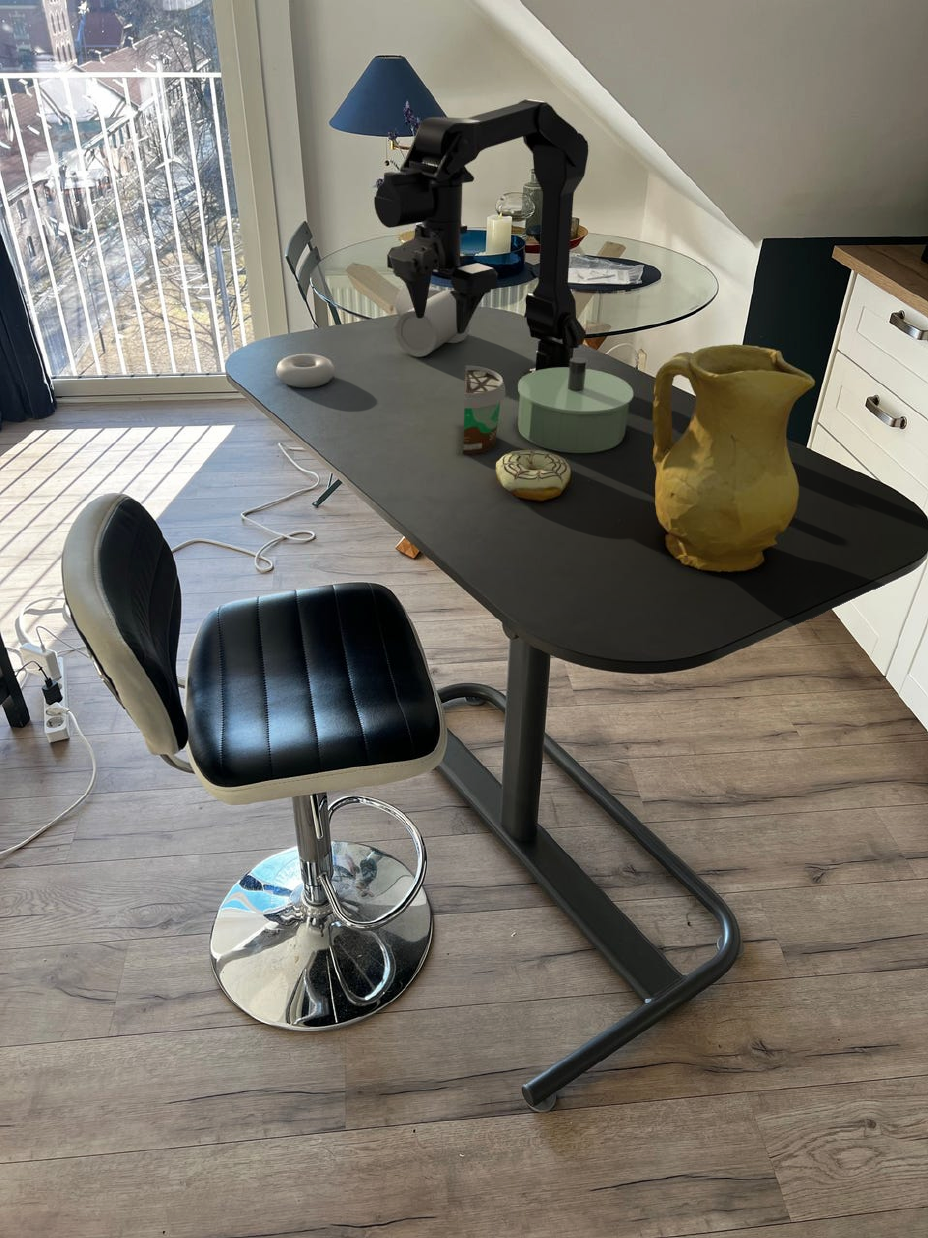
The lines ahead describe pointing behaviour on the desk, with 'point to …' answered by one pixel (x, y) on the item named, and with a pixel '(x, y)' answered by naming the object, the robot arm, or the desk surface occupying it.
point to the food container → (481, 408)
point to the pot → (571, 428)
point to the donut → (305, 370)
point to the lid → (575, 389)
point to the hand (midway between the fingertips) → (440, 325)
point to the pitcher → (726, 456)
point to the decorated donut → (533, 474)
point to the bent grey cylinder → (427, 322)
